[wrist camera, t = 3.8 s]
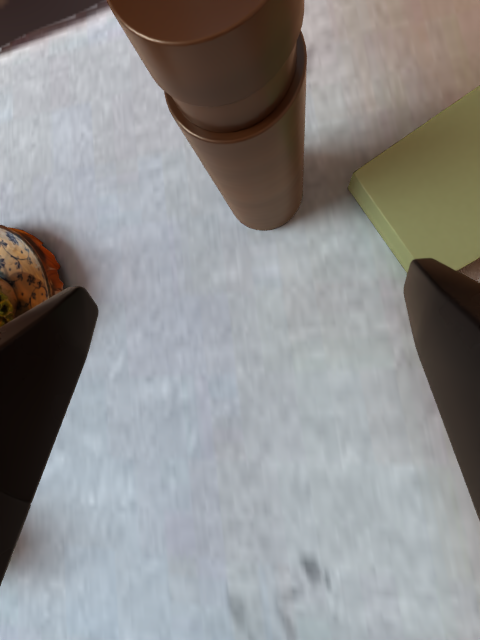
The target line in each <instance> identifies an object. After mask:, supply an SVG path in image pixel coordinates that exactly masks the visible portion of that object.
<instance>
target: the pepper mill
mask: <svg viewBox="0 0 480 640" xmlns="http://www.w3.org/2000/svg"><path fill="white" fill-rule="evenodd" d="M107 3H108V5H109V7H110V8H111V10H112V12H113V14H114V15H115V17H116V19H117V20H118V22H119V24H120V25H121V27H122V29H123V30H124V32H125V33H126V35H127V37H128V38H129V40H130V42H131V43H132V45H133V47H134V48H135V50H136V51H137V53H138V55H139V56H140V58H141V60H142V61H143V63H144V65H145V66H146V68H147V69H148V71H149V73H150V74H151V76H152V78H153V79H154V80H155V82H156V83H157V84H158V85H159V86H160V87H161V88H162V89H163V90H164V94H165V98H166V102H167V105H168V108H169V110H170V112H171V114H172V116H173V118H174V119H175V121H176V123H177V124H178V126H179V127H180V129H181V131H182V132H183V134H184V135H185V137H186V138H187V140H188V142H189V143H190V145H191V146H192V148H193V150H194V151H195V153H196V154H197V156H198V158H199V159H200V161H201V162H202V164H203V166H204V167H205V169H206V170H207V172H208V174H209V175H210V177H211V178H212V180H213V182H214V183H215V185H216V186H217V188H218V189H219V191H220V193H221V194H222V196H223V197H224V199H225V201H226V202H227V204H228V205H229V207H230V209H231V210H232V212H233V213H234V215H235V216H236V218H237V219H238V220H239V221H240V222H241V223H242V224H244V225H245V226H247V227H249V228H252V229H255V230H271V229H275V228H277V227H280V226H282V225H283V224H285V223H286V222H288V221H289V220H290V219H291V218H292V217H293V216H294V215H295V213H296V212H297V210H298V208H299V206H300V204H301V201H302V196H303V173H304V137H305V101H306V65H307V53H306V45H305V41H304V37H303V34H302V32H301V27H302V22H303V16H304V0H107Z"/></svg>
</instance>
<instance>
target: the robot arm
mask: <svg viewBox="0 0 480 640" xmlns="http://www.w3.org/2000/svg"><path fill="white" fill-rule="evenodd" d="M404 297H405V302H406V306H407V311H408V316H409V320H410V325H411V329H412V334H413V338H414V342H415V346H416V349H417V352H418V355H419V358H420V361H421V363H422V366H423V369H424V372H425V374H426V377H427V380H428V382H429V385H430V388H431V391H432V393H433V396H434V399H435V401H436V404H437V407H438V409H439V412H440V415H441V418H442V420H443V423H444V426H445V428H446V431H447V434H448V437H449V439H450V442H451V445H452V447H453V450H454V453H455V456H456V458H457V461H458V464H459V466H460V469H461V472H462V475H463V477H464V480H465V483H466V485H467V488H468V491H469V493H470V496H471V499H472V502H473V504H474V507H475V510H476V512H477V515H478V518H479V521H480V283H478V282H477V281H475V280H473V279H471V278H469V277H467V276H465V275H463V274H462V273H460V272H458V271H456V270H454V269H452V268H450V267H448V266H447V265H445V264H443V263H441V262H439V261H437V260H435V259H433V258H419V259H414V260H412V261H411V263H410V265H409V269H408V273H407V277H406V281H405V284H404ZM97 317H98V307H97V305H96V303H95V302H94V301H93V299H92V298H91V296H90V295H89V293H88V292H87V290H86V289H85V288H83V287H81V286H75V287H68V288H66V289H64V290H62V291H61V292H59V293H57V294H56V295H54V296H52V297H51V298H49V299H47V300H45V301H44V302H42V303H40V304H39V305H37V306H35V307H34V308H32V309H30V310H29V311H27V312H25V313H23V314H22V315H20V316H18V317H17V318H15V319H13V320H12V321H10V322H8V323H7V324H5V325H3V326H1V327H0V586H1V583H2V580H3V578H4V575H5V572H6V570H7V567H8V564H9V562H10V559H11V557H12V554H13V551H14V549H15V546H16V543H17V541H18V538H19V535H20V533H21V530H22V528H23V525H24V522H25V520H26V517H27V514H28V512H29V509H30V506H31V503H32V500H33V498H34V495H35V492H36V490H37V487H38V485H39V482H40V479H41V477H42V474H43V471H44V469H45V466H46V463H47V461H48V458H49V456H50V453H51V450H52V448H53V445H54V442H55V440H56V437H57V434H58V432H59V429H60V427H61V424H62V421H63V419H64V416H65V413H66V411H67V408H68V405H69V403H70V400H71V398H72V395H73V392H74V390H75V387H76V384H77V382H78V379H79V377H80V374H81V371H82V369H83V366H84V363H85V360H86V358H87V354H88V351H89V347H90V344H91V340H92V336H93V332H94V328H95V325H96V321H97Z"/></svg>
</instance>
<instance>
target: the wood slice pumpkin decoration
mask: <svg viewBox="0 0 480 640" xmlns="http://www.w3.org/2000/svg"><path fill="white" fill-rule="evenodd" d="M42 244H43V243H42V242H41V241H40V240H39V239H37V238H36V237H35V236H33V235H31V234H29V233H27V232H25V231H23V230H19V229H14V228H8V227H5V226H2V225H0V327H1V326H3V325H5V324H7V323H8V322H10V321H12V320H13V319H15V318H17V317H18V316H20V315H22V314H23V313H25V312H27V311H29V310H30V309H32V308H34V307H35V306H37V305H39V304H40V303H42V302H44V301H45V300H47V299H49V298H51V297H52V296H54V295H56V294H57V293H59V292H61V291H62V290H63V282H61V281H60V279H59V274H58V272H57V270H58V269H59V268H60V265H59V263H57V261H56V259H55V256H54V255H53V254H52V253H51V252H50V251H49V250H47V249H46V248H45V247H43V246H42Z"/></svg>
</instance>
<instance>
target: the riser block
mask: <svg viewBox="0 0 480 640" xmlns="http://www.w3.org/2000/svg"><path fill="white" fill-rule="evenodd" d="M348 189H349V191H350V192H351V194H352V195H353V196H354V198H355V199H356V201H357V202H358V204H359V205H360V206H361V208H362V209H363V211H364V212H365V214H366V215H367V216H368V218H369V219H370V221H371V222H372V224H373V225H374V227H375V228H376V229H377V231H378V232H379V234H380V235H381V237H382V238H383V239H384V241H385V242H386V244H387V245H388V247H389V248H390V249H391V251H392V252H393V254H394V255H395V257H396V258H397V259H398V261H399V262H400V264H401V265H402V267H403V268H404V269H405V271H406V272H407V273H408V269H409V265H410V263H411V261H412V260H414V259H419V258H433V259H435V260H437V261H439V262H441V263H443V264H445V265H447V266H448V267H450V268H452V269H454V270H456V271H458V270H460V269H461V268H463V267H465V266H466V265H468V264H470V263H472V262H473V261H475V260H477V259H478V258H480V86H478V87H477V88H475V89H474V90H472V91H471V92H469V93H468V94H467V95H465V96H464V97H462V98H461V99H459V100H458V101H456V102H455V103H454V104H452V105H451V106H449V107H448V108H446V109H445V110H443V111H442V112H440V113H439V114H438V115H436V116H435V117H433V118H432V119H430V120H429V121H427V122H426V123H425V124H423V125H422V126H420V127H419V128H417V129H416V130H414V131H413V132H412V133H410V134H409V135H407V136H406V137H404V138H403V139H401V140H400V141H399V142H397V143H396V144H394V145H393V146H391V147H390V148H388V149H387V150H385V151H384V152H383V153H381V154H380V155H378V156H377V157H375V158H374V159H372V160H371V161H370V162H368V163H367V164H365V165H364V166H362V167H361V168H359V169H358V170H357V171H355V172H354V173H353V175H352V178H351V180H350V183H349V186H348Z"/></svg>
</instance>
